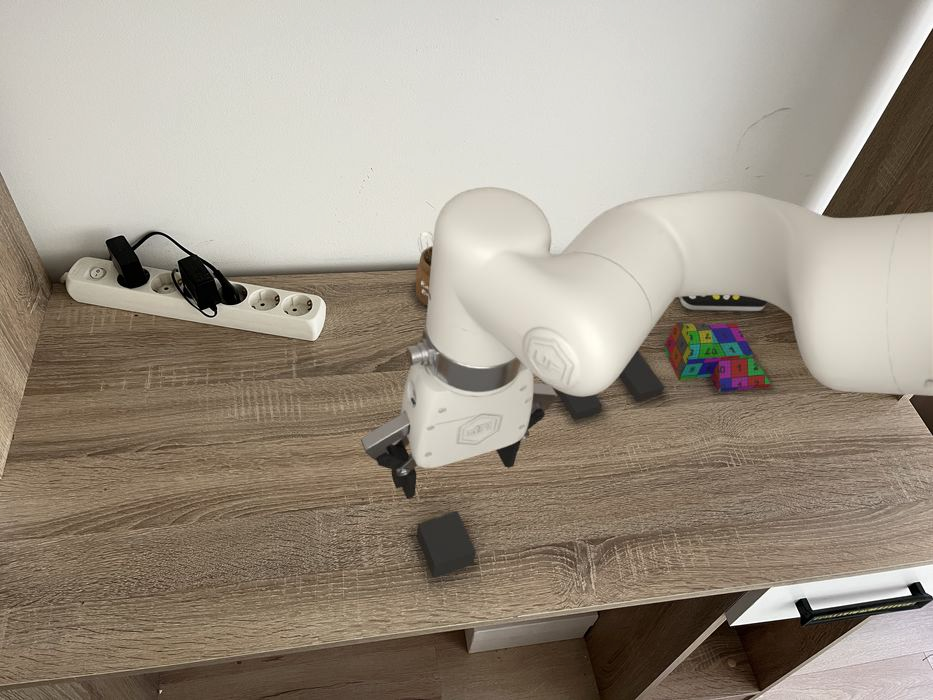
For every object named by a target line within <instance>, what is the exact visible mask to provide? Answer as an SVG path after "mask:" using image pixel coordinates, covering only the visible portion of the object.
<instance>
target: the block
mask: <svg viewBox="0 0 933 700" xmlns="http://www.w3.org/2000/svg"><path fill="white" fill-rule="evenodd" d="M663 349H664V352H665V354H666V356H667V359H668V360H669V362H670V365H671V367H672V369H673V370H674V373H675V374H676V377H677V379H678V380H687V379H698V378H711V380H712V382H713V385H714V386H715V388H716V390H717V392H718V393H719V392H730V391H731V392H732V391H740V390H749V389H750V390H751V389H761V388H770V386H771V385H772V382H771V381H770V380H769V378H768V376H767V375H766V372H765V371H764V369H763V367H762V365H761V364H760V362H759V360H758V358H757V357H756V355H755V353H754V352H753V350H752V348H751V346H750V344H749V343H748V341H747V340H746V338H745V336H744V334H743V332H742V331H741V328H740V327H739V326H738V324H737V323H735V322H734V323H721V324H712V325H711V324H709V325H708V324H707V323H706V322H705V321H704V320H695V321H694V320H693V321H681V322H676V323H675V324H674V325H673V327H672V329H671V331H670V333H669V335H668V338H667V340H666V343H665V345H664V346H663Z"/></svg>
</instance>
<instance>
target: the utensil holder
mask: <svg viewBox="0 0 933 700" xmlns="http://www.w3.org/2000/svg"><path fill="white" fill-rule="evenodd" d="M429 235H431V237H430V236H429ZM424 236H425V242H426V248H425V249H424V248H423V245H422V243H419V242H417V243H418V244H417V245H418V247H420V248H418V249H419V252H420V254H421V255H420V258H419V263H418V265H417V268H416V272H415V273H416V275H415V294H416V298H417V299H418V301H419V302H420V303H421V304H422V305H425V306H426V307H428V296H429V284H430V272H431V260H432V249H433V245H432V246H429V243H428V237H429V238H430V239H431V242H432V243H433V237H434V236H433V233H432V232H431V231H429V232H427V231H424V233H420V234H419V236H418V239H417V240H419V239H420V242H423V241H422V240H423V239H424ZM427 236H428V237H427Z"/></svg>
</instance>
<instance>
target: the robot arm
mask: <svg viewBox="0 0 933 700" xmlns="http://www.w3.org/2000/svg"><path fill="white" fill-rule="evenodd" d="M436 217H437V218H436V219H435V223H434V230H433V236H432V237H433V238H432V241H433V242H432V246H433V249H432V260H431V272H430V284H429V296H428V306H427V307H426V308H427V310H426V320H425V327H423V328H422V338H421V340H420V341H419V342H418V343H416V344H415V345H414V346H411V347H407V348H406V358H407V361H408V363H409V365H410V368H409V370H408V374H407V378H406V380H405V385H404V389H403V393H402V400H401V407H400V414H399V415H398V416H396V417H394V418H392V419H390V420H389V421H388V422H386V423H384V424H382V425H380V426H378V427H377V428H375V429H374V430H372V431H370V432H368V433H367V434H365V435H364V436H362V437H361V438H360V442H361V444H362V447H363V450H364V452H365V454H366V455H367V456H368V457H370V458H371V459H372V460H374V461H376V462H377V464H378V466H379V467H382V468H386V469H389V470H391V479H392V482H393V484H394V486H395V488H396V489H400V488H402V491H403V493H404V496H405V498H406V500H410V499H413V498H414V496H415V495H416V486H417V476H418V475H417V471H416V469H415V468H417V467H419V468H423V469H434V468H439V467H444V466H446V465H447V466H448V465H450V464H453V463H458V462H460V461H464V460H467V459H468V460H469V459H470V458H475V457H478V456H481V455H484V454H487V453H490V452H493V451H496V452H497V454H498V456H499V458H500V460H501V462H502V464H503V466H504V468H507V469H509V468H513V467H514V466H515V463H516V462H515V461H516V460H517V459H516V458H517V455H518V452H519V449H520V446H521V442H522V441H524V440H526V439H527V438H528V437H529V436H530V431H529V430H530V429H531V428H533V427H534V426H535V425H536V424H537V423H539V422H540V421H542V420H543V419H544V417H545V416H546V414H545V411H548V410H549V408H550V407H551V406H552V405H553V404H554V403H555V401H556V400H558V398H559V395H558V393H557V392H556V390H555V389H557V390H559V391H561V392H563V393H566V394H569V395H573V396H582V397H584V396H591V395H597V394H600V393H602V392H604V391H605V390H607V389H608V388H609V387H610V386H611V385H613V384H614V382H615V381H616V380H617V379H618V378H619V377H620V376H619V375H620V374H621V372H622V371H623V370H624V368H625V367H626V366H627V364H628V363H629V361H630V360H631V358H632V357H633V356H634V354H635V353H636V351H637V350H638V351H639V348H640V347H641V346H642V345H643V343H644V342H645V340H646V339H647V337H648V336H649V335H650V333H652V331H653V330H654V327H656V325H657V323H658V322H659V321H660V319H661V318H662V316H663V315H664V313H666V310H667V309H668V308H669V306H671V304H672V302H673V301H674V299H675V298H679V297H682V296H702V295H737V296H746V297H753V298H757V299H760V300H764V301H767V303H770V304H772V305H774V306H776V307H778V308H780V309H781V310H782V311H784V312H785V313H787V314H788V315H789V317H791V320H792V321H791V322H792V327H793V332H794V337H795V340H796V344H797V347H798V350H799V353H800V357H801V359H802V362H803V363H804V365H805V367H806V368H807V370H808V372H809V373H810V375H811V376H812V377H813V378H814V379H815V380H816V381H818V382H819V383H820V384H821V385H822V386H825V387H827V388H829V389H832V390H834V391H838V392H844V393H847V392H848V393H861V394H862V393H863V394H865V393H867V394H882V395H883V394H885V395H900V396H901V395H902V396H906V395H911V396H912V395H914V396H929V397H930V396H931V397H933V211H926V212H916V213H898V214H896V213H895V214H887V215H873V216H862V217H830V216H827V215H823V214H820V213H818V212H815V211H814V210H811V209H809V208H806V207H803V206H801V205H798V204H795V203H792V202H788V201H786V200H781V199H777V198H774V197H769V196H767V195H762V194H759V193H757V192H756V193H755V192H749V191H745V190H736V189H711V190H699V191H689V192H682V193H674V194H665V195H656V196H650V197H645V198H639V199H634V200H631V201H627V202H624V203H620V204H618V205H616V206H613V207H611V208H609V209H607V210H605V211H603V212H602V213H600V214H598V215H597V216H596V217H595V218H593V220H592V221H590V222H589V223H588V224H587V225H586V226H585V227H584V228H583V229H582V230H581V231H580V232H579V233H578V234H577V235H576V236H575V238H573V239H572V240H571V242H569V244H568V245H567V246H566V248H564V249H563V250H562V251H561V252H560V253H559V255H554V254H552V253H550V251H551V246H552V229H551V225H550V223H549V219H548V218H547V216H546V215H545V212H544V211H543V210H542V208H541V207H539V205H538V204H537V203H535V202H534V201H533V200H531V199H530V198H528V197H527V196H525V195H523V194H521V193H518V192H516V191H513V190H510V189H507V188H502V187H495V186H484V187H475V188H470V189H467V190H464V191H461V192H460V193H457V194H455V195H454V196H453V197H451V199H449V200H448V201H447V202H446V203H445V204H444V205H443V207H442V208H441V209H440V211H439V213H438V214H437V216H436ZM534 375H535V376H536V377H537V378H539V379H540V380H541V381H542V382H544V383H539V382H535V381H534V377H535V376H534ZM408 445H409V449H410V453H409V452H408V450H407V446H408Z"/></svg>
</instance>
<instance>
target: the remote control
mask: <svg viewBox="0 0 933 700" xmlns="http://www.w3.org/2000/svg"><path fill="white" fill-rule="evenodd" d="M678 298H679V301H680V304H681V305H682V306H683V307H684V308H685V309H686V310H691V311H726V312H727V311H729V312H730V311H731V312H733V311H734V312H735V311H737V312H759V311H762V310H763V309H764V308H765V307H766V305H767V303H768V302H767V301H764V300H760V299H757V298H753V297H746V296H737V295H702V296H682V297H678Z"/></svg>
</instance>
